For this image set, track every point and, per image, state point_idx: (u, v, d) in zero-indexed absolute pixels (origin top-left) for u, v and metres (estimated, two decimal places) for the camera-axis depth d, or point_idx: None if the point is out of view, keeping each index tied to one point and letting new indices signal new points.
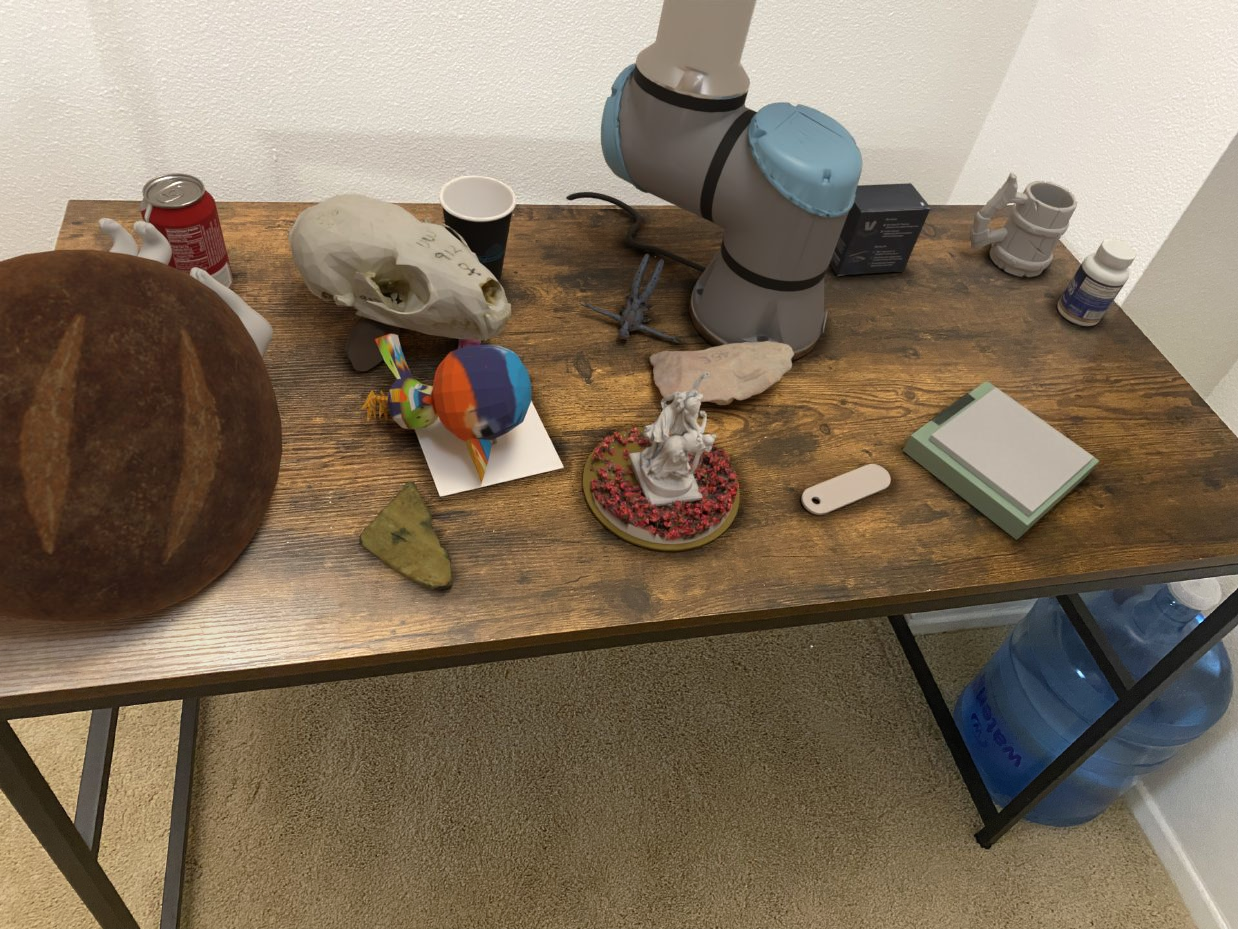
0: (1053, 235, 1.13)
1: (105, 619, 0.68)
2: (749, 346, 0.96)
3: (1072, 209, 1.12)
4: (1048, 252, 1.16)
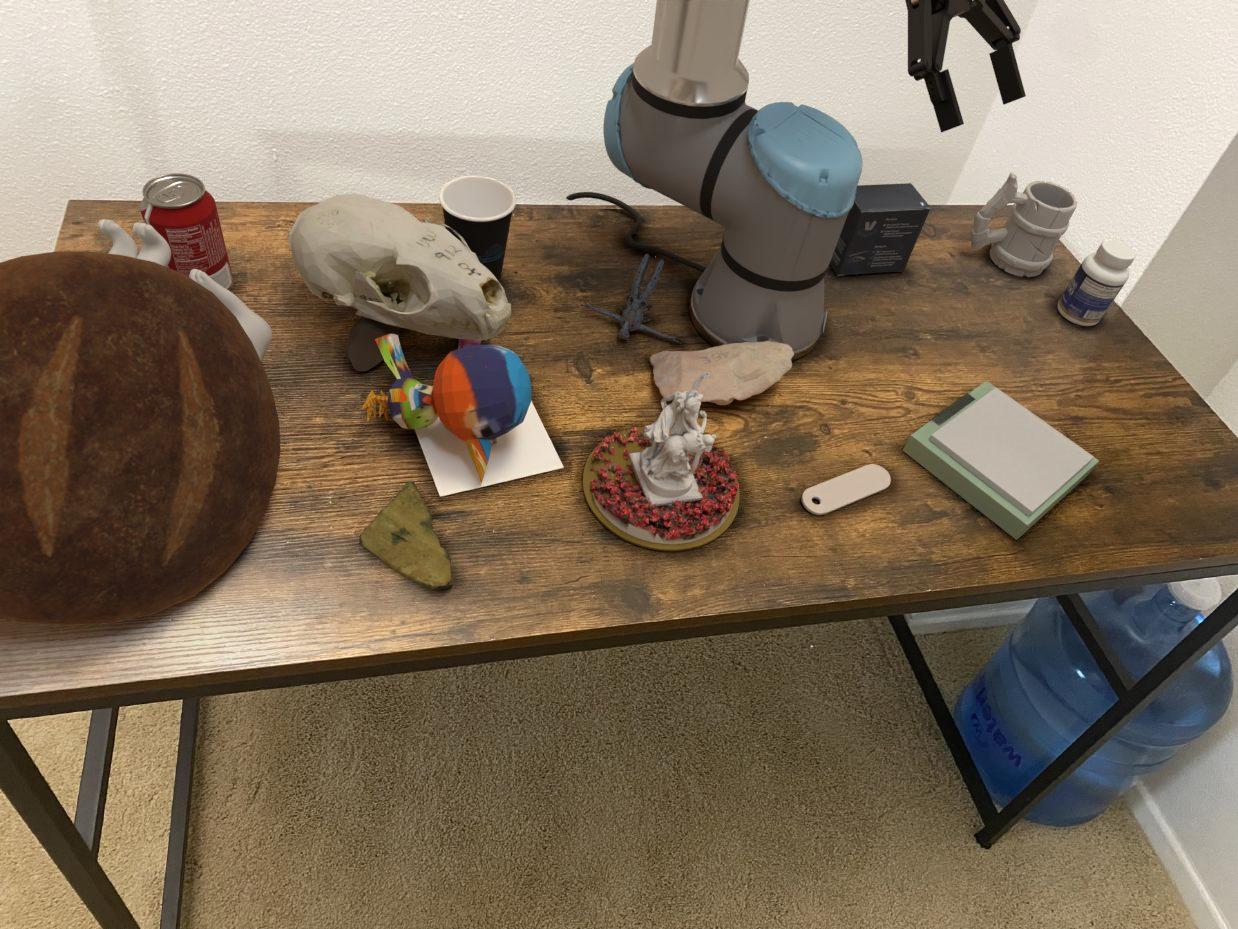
0: (1053, 235, 1.13)
1: (104, 621, 0.67)
2: (749, 346, 0.96)
3: (1072, 209, 1.12)
4: (1048, 252, 1.16)
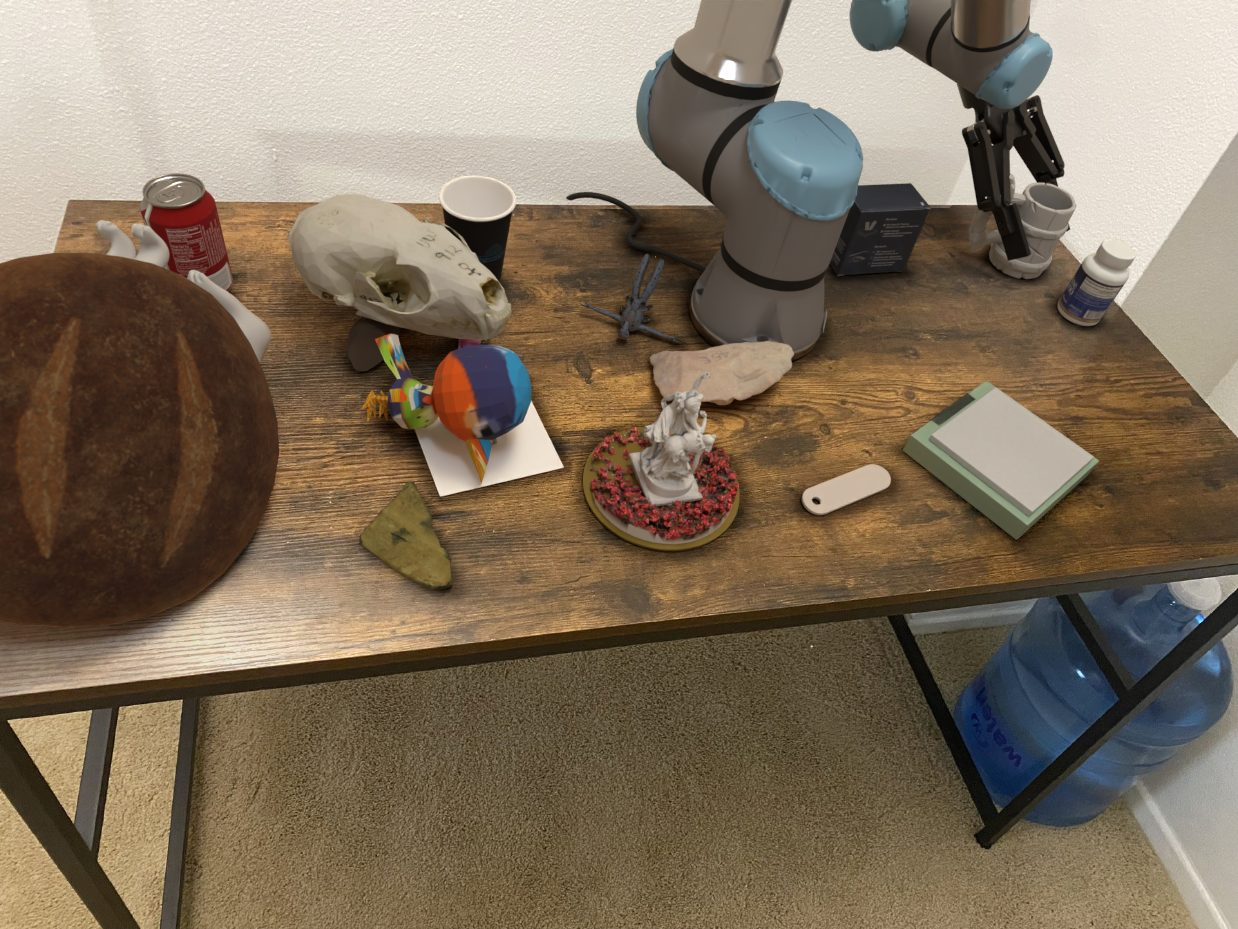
0: (1051, 237, 1.13)
1: (103, 623, 0.67)
2: (749, 346, 0.96)
3: (1070, 211, 1.11)
4: (1046, 254, 1.15)
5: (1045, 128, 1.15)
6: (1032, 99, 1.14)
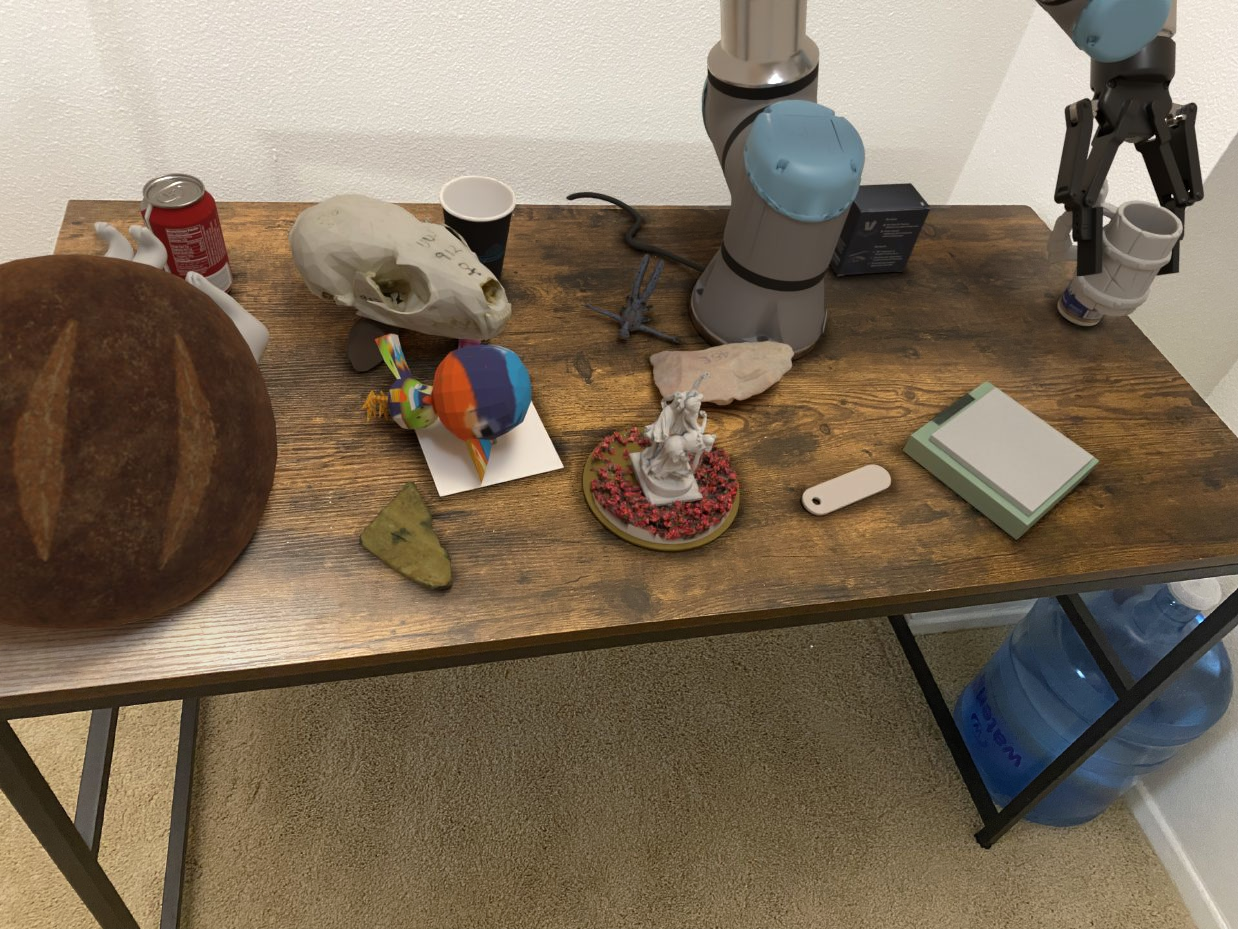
0: (1131, 264, 0.93)
1: (101, 626, 0.67)
2: (749, 346, 0.96)
3: (1162, 238, 0.90)
4: (1127, 288, 0.95)
5: (1189, 144, 0.94)
6: (1185, 105, 0.94)
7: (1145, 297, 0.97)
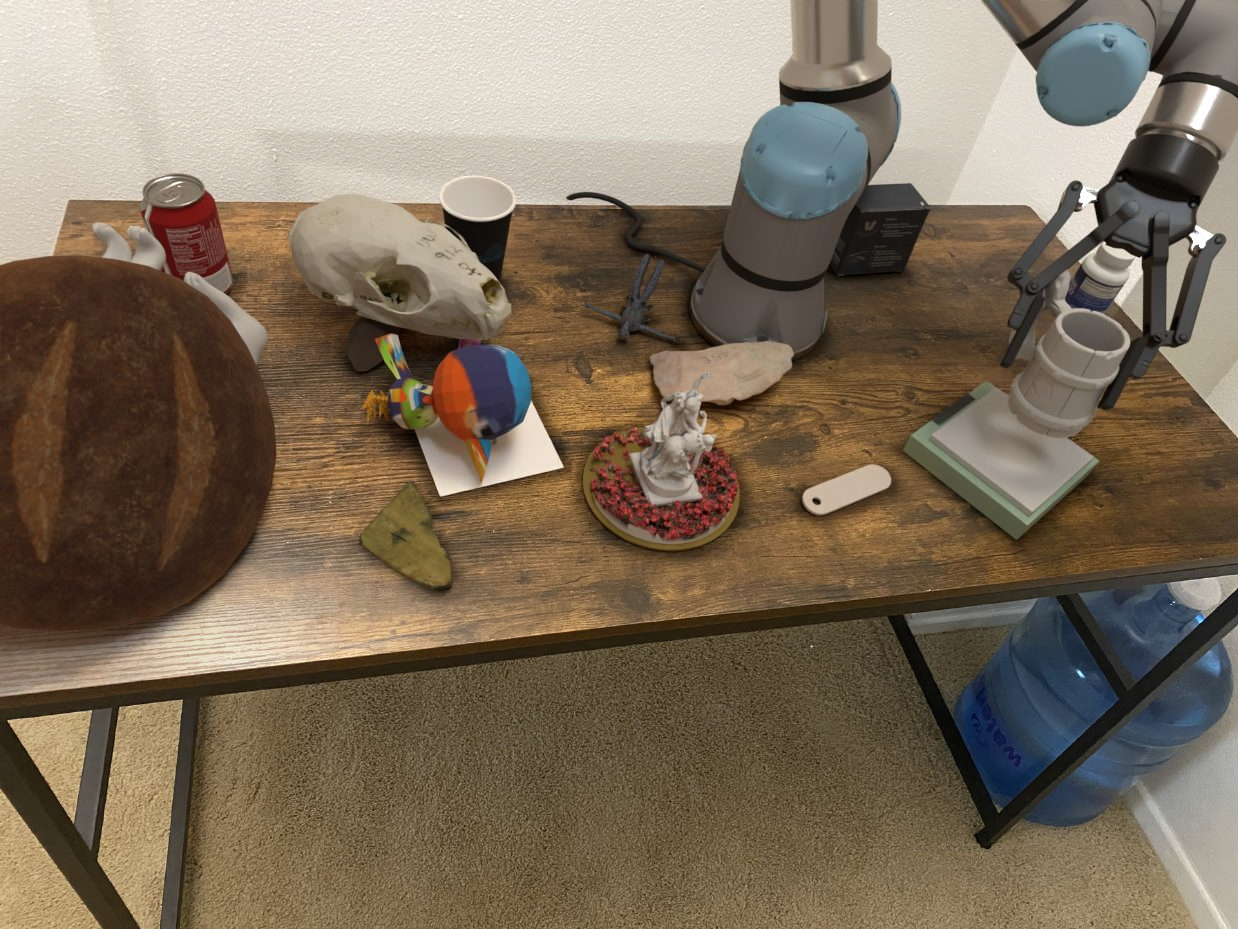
0: (1047, 370, 0.81)
1: (100, 627, 0.67)
2: (749, 346, 0.96)
3: (1080, 349, 0.78)
4: (1044, 399, 0.83)
5: (1196, 277, 0.79)
6: (1212, 235, 0.79)
7: (1071, 423, 0.83)
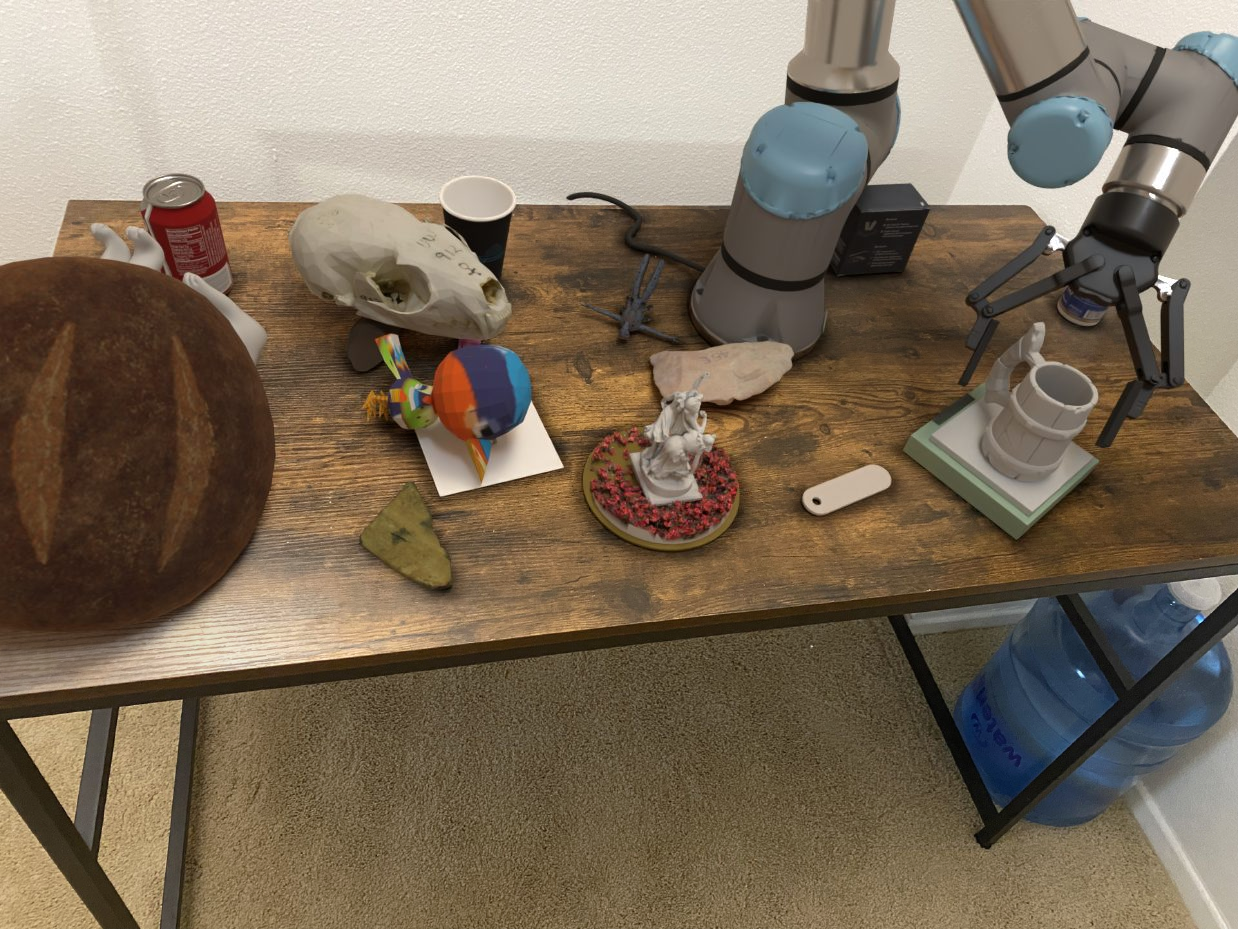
0: (1019, 419, 0.86)
1: (100, 629, 0.67)
2: (749, 346, 0.96)
3: (1051, 402, 0.83)
4: (1015, 446, 0.88)
5: (1173, 323, 0.83)
6: (1176, 281, 0.84)
7: (1039, 469, 0.88)
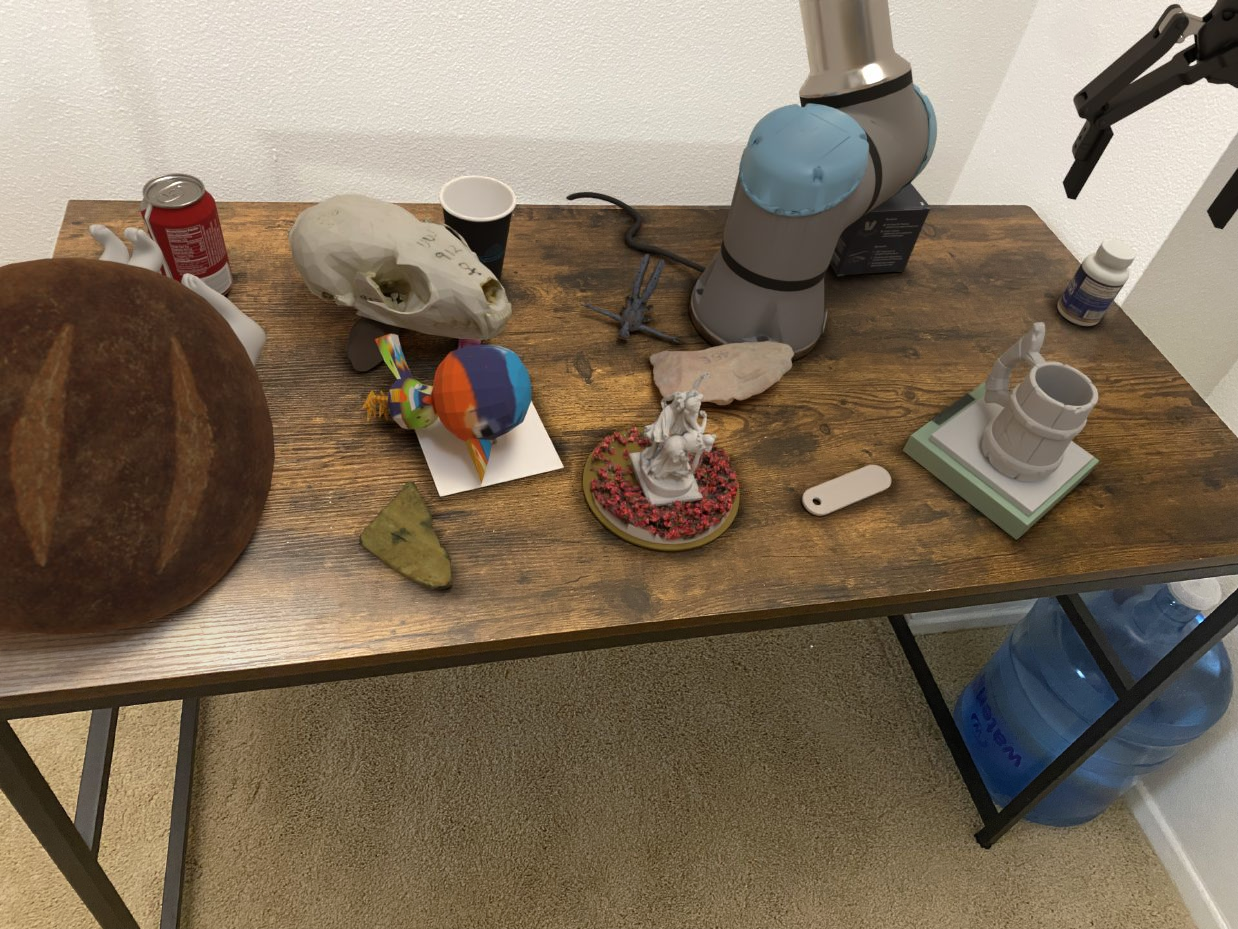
0: (1019, 419, 0.86)
1: (99, 631, 0.67)
2: (749, 346, 0.96)
3: (1051, 402, 0.83)
4: (1015, 446, 0.88)
5: None
6: None
7: (1039, 469, 0.88)
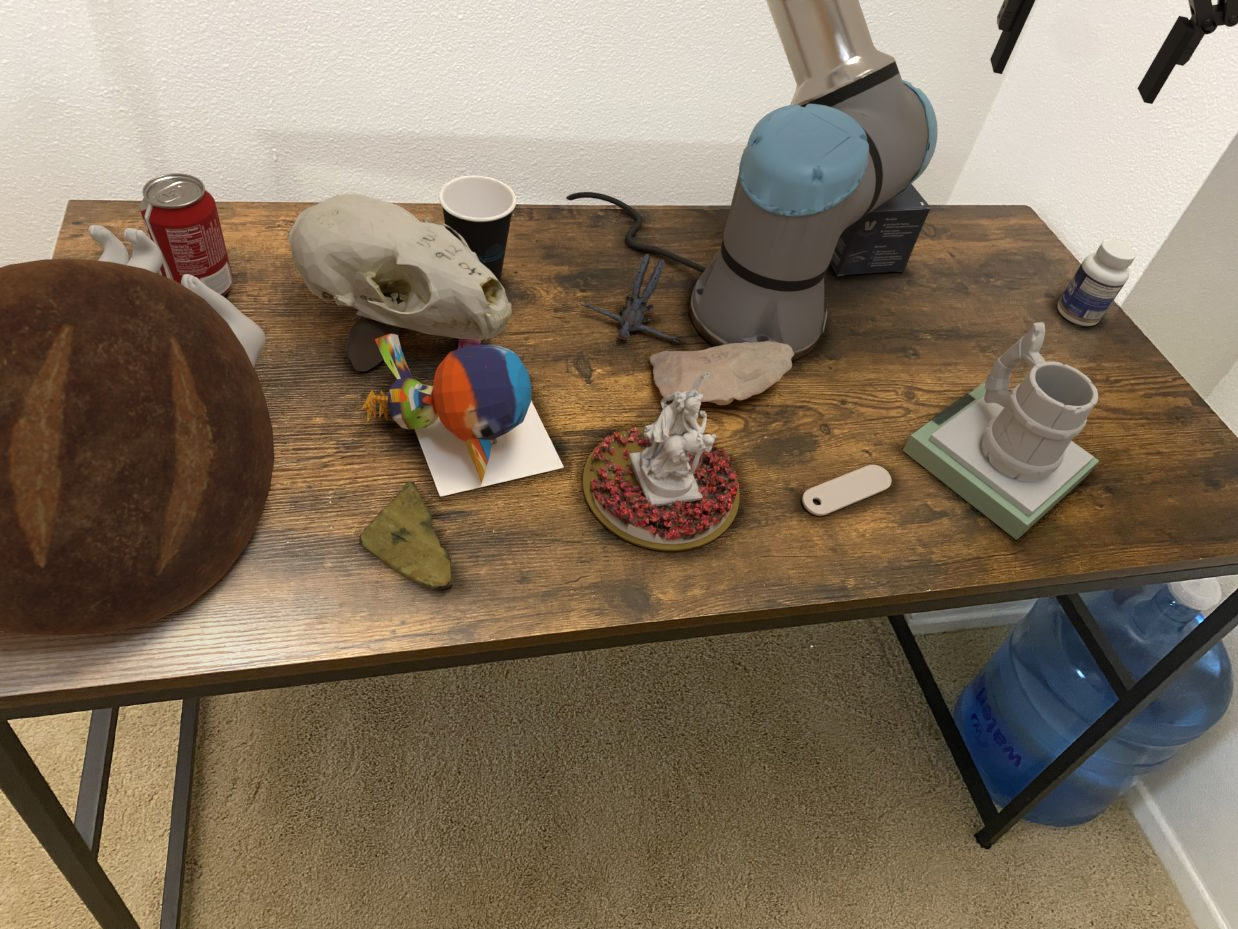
0: (1019, 419, 0.86)
1: (99, 632, 0.67)
2: (749, 346, 0.96)
3: (1051, 402, 0.83)
4: (1015, 446, 0.88)
5: None
6: None
7: (1039, 469, 0.88)
